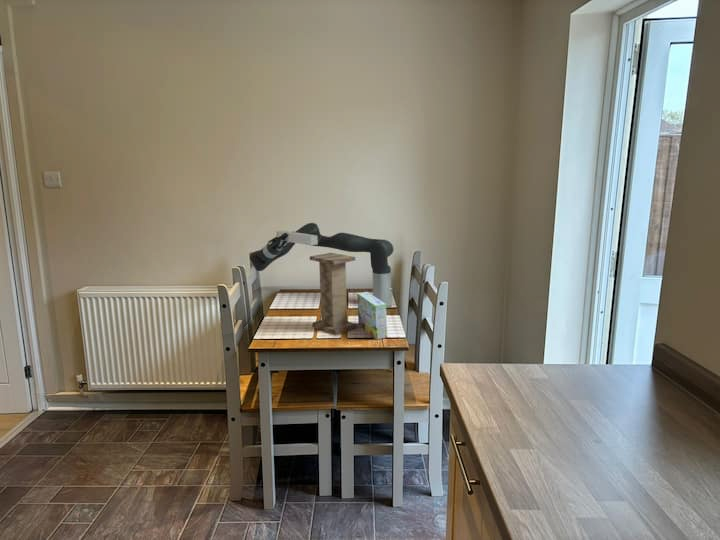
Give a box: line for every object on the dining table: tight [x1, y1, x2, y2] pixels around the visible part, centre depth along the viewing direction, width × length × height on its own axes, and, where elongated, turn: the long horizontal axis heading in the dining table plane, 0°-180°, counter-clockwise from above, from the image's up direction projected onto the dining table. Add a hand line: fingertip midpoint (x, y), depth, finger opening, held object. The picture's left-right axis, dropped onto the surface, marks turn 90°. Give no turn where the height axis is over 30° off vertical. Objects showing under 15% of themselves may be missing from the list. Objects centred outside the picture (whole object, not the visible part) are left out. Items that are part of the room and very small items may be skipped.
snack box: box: [356, 291, 388, 341], centre depth 206 cm, size 21×6×15 cm, turn 21°
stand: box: [309, 252, 358, 336], centre depth 210 cm, size 16×12×32 cm
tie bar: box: [276, 230, 318, 246], centre depth 223 cm, size 26×4×4 cm, turn 44°
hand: (290, 233), depth 226 cm, fingers closed on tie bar, 4 cm apart
